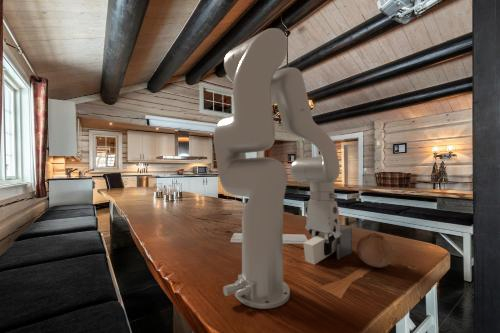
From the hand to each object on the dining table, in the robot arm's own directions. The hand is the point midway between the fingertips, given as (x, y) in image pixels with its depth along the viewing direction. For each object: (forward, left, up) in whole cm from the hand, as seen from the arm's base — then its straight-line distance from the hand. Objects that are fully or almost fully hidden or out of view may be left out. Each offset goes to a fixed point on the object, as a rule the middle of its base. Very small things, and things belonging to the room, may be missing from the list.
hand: (322, 252), depth 75 cm
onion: (+6, -14, -2) cm, 15 cm away
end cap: (+8, 0, -2) cm, 8 cm away
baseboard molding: (-1, +25, -3) cm, 25 cm away
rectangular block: (0, 0, -1) cm, 1 cm away
